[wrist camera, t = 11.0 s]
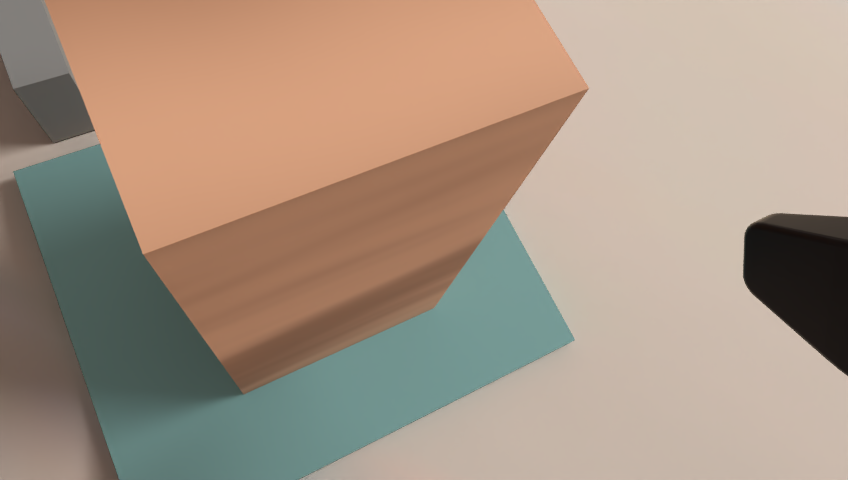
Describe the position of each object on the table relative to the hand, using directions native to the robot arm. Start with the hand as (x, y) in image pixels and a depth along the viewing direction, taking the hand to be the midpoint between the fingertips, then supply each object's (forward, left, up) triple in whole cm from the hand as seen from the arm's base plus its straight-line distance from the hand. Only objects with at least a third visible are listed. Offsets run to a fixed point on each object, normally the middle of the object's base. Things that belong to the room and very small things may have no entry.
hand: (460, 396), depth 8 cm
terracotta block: (+3, -4, -8) cm, 10 cm away
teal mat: (+3, -4, -9) cm, 10 cm away
